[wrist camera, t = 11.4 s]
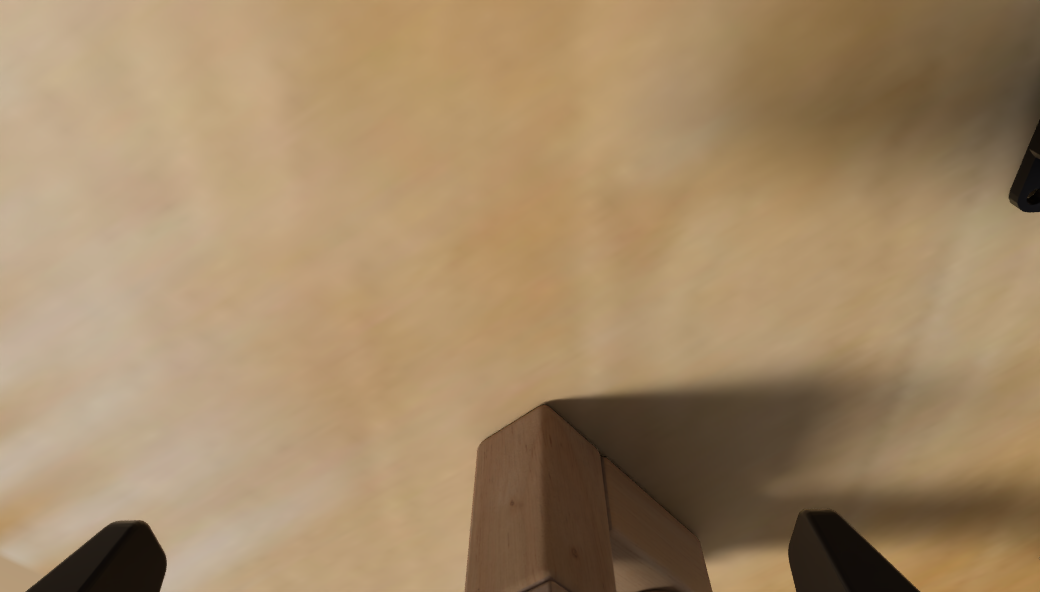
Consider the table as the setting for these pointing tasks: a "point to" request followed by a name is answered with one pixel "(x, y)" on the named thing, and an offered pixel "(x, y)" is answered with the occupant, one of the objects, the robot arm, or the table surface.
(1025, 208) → the robot arm
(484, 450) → the brown post on base
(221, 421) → the table surface
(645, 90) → the table surface
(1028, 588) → the table surface
